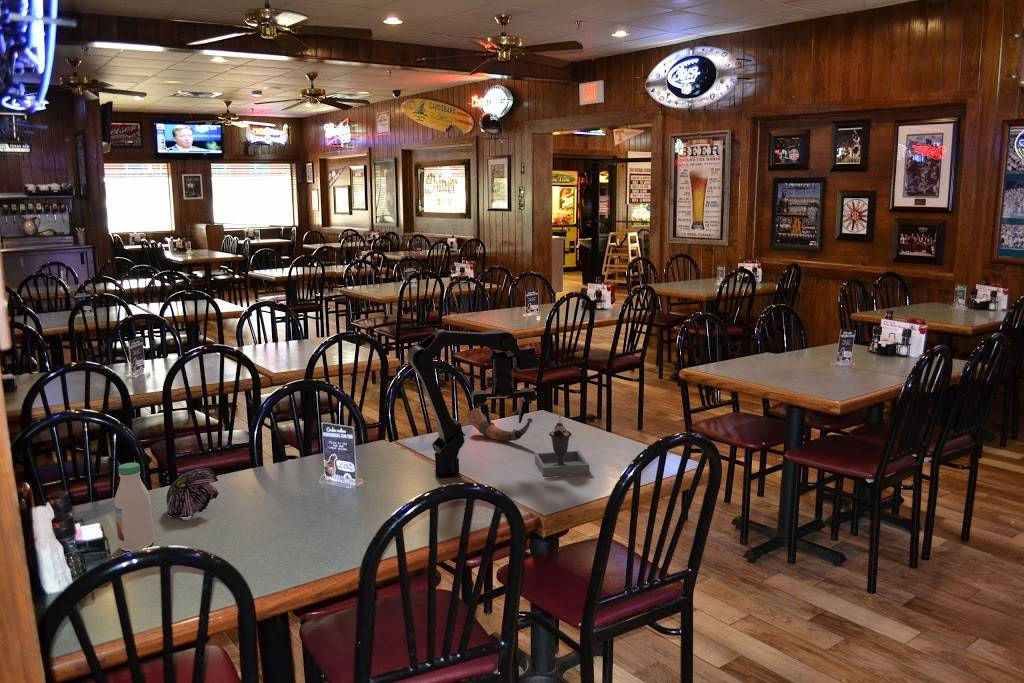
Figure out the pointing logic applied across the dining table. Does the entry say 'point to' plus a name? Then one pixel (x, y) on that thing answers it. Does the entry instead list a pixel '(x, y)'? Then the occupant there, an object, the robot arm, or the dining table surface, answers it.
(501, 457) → the dining table surface
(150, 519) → the milk bottle
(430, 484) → the dining table surface
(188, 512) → the decorative flower
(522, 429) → the drinking horn
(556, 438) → the sundae
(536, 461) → the tray
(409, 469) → the dining table surface
